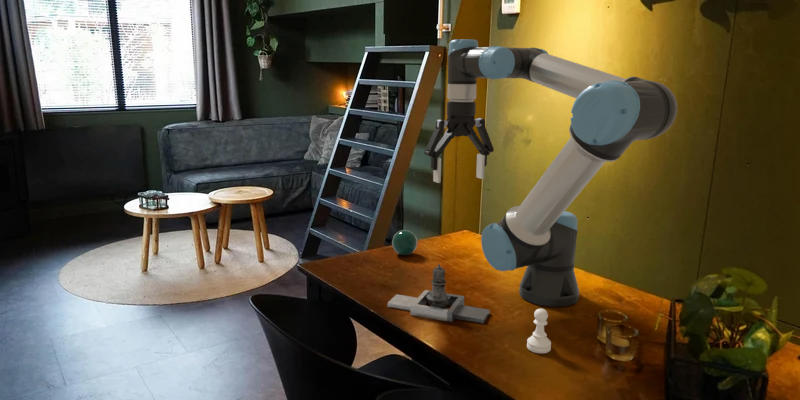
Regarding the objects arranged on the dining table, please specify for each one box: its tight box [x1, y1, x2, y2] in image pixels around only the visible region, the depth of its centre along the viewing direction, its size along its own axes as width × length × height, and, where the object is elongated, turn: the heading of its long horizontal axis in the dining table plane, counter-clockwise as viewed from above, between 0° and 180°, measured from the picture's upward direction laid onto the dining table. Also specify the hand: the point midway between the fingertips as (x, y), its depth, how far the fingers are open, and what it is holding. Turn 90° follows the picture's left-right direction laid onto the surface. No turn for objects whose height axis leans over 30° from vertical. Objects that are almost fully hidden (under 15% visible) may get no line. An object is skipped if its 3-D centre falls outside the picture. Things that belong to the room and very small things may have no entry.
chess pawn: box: [526, 307, 552, 354], centre depth 121 cm, size 5×5×9 cm
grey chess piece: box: [427, 263, 450, 310], centre depth 139 cm, size 6×6×12 cm
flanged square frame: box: [387, 289, 490, 324], centre depth 140 cm, size 24×10×2 cm, turn 68°
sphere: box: [391, 229, 418, 256], centre depth 180 cm, size 8×8×8 cm
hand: (458, 180), depth 154 cm, fingers open, 13 cm apart
